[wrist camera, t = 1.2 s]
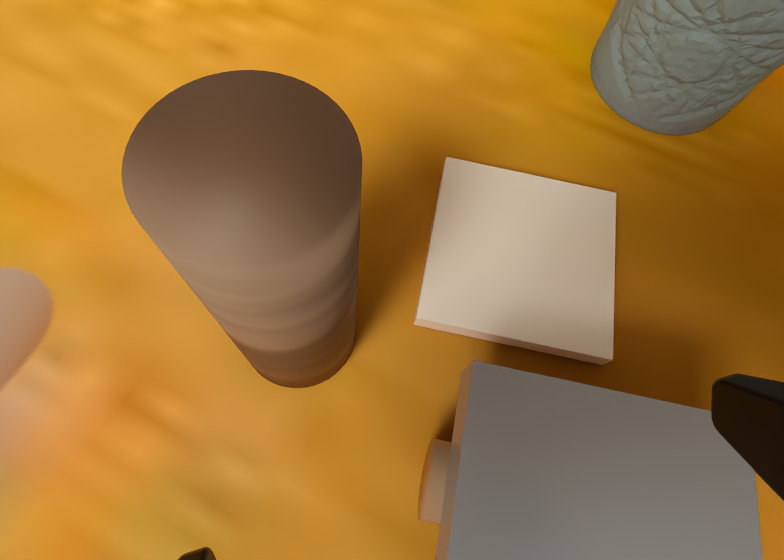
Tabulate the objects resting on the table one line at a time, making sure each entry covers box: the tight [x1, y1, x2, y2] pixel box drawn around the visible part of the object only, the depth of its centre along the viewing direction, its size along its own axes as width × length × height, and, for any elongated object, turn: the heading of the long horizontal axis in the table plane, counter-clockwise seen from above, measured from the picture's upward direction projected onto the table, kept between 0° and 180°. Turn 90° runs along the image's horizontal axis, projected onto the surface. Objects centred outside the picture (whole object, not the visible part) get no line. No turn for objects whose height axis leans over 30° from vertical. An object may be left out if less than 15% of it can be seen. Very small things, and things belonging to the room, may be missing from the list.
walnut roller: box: [122, 70, 362, 388], centre depth 17 cm, size 5×5×13 cm
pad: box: [414, 157, 616, 365], centre depth 24 cm, size 9×9×1 cm
